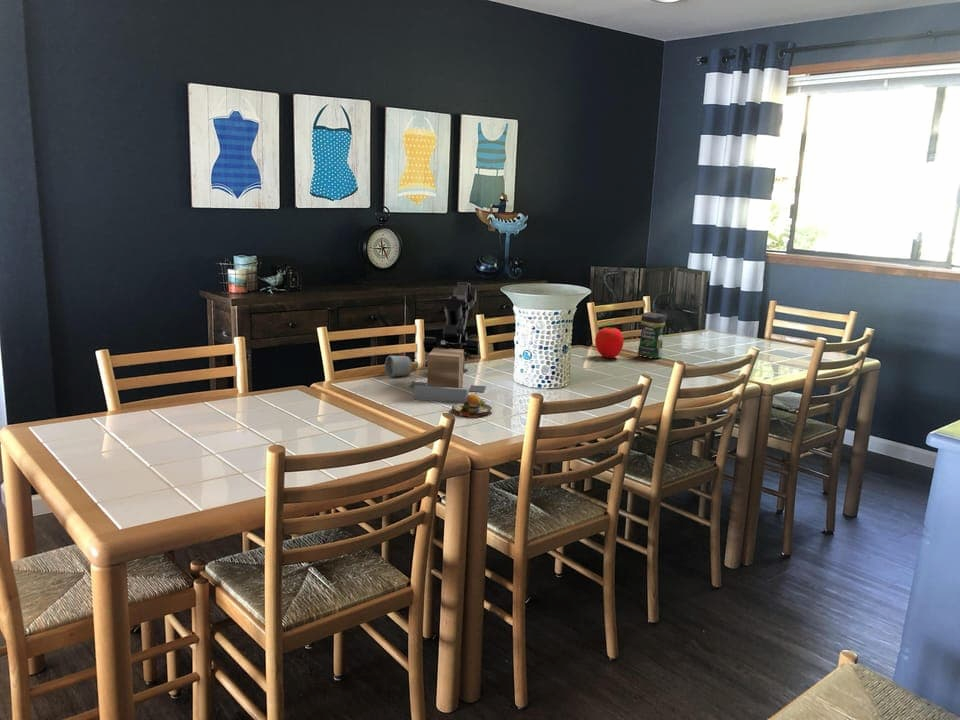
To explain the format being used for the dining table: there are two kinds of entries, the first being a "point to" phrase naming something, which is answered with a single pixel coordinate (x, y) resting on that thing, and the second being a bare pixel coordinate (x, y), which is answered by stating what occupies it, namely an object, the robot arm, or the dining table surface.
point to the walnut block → (445, 368)
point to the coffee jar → (651, 335)
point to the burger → (472, 407)
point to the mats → (472, 389)
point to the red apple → (609, 342)
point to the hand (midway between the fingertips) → (448, 366)
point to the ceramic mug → (398, 366)
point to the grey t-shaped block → (440, 393)
